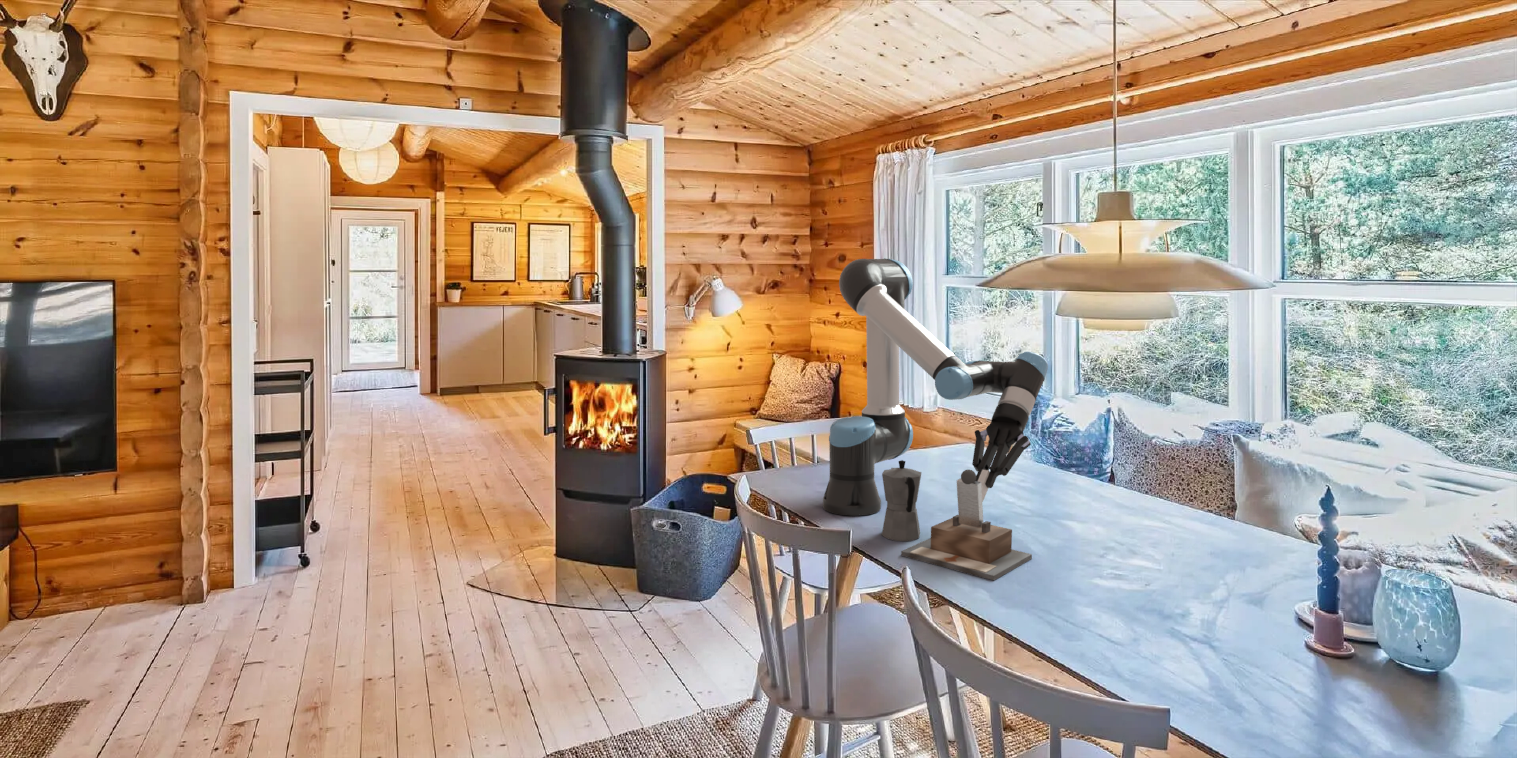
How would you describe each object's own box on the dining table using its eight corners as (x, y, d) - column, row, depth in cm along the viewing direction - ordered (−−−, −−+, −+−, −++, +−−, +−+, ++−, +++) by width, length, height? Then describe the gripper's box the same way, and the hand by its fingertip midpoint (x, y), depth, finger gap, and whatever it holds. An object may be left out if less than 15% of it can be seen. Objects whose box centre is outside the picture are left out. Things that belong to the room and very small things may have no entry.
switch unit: (901, 555, 181) (901, 520, 180) (942, 536, 193) (942, 503, 192) (993, 580, 166) (994, 542, 165) (1031, 558, 178) (1033, 522, 177)
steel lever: (957, 524, 181) (953, 470, 178) (964, 519, 183) (961, 465, 180) (978, 529, 177) (975, 474, 174) (985, 523, 180) (982, 469, 177)
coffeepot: (874, 527, 201) (875, 454, 198) (912, 525, 202) (913, 453, 199) (891, 548, 186) (892, 470, 183) (932, 546, 187) (933, 468, 184)
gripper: (1045, 424, 187) (1011, 512, 177) (991, 418, 196) (956, 502, 186) (1035, 404, 183) (1000, 493, 173) (981, 399, 192) (944, 484, 182)
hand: (977, 498), depth 180 cm, fingers closed
